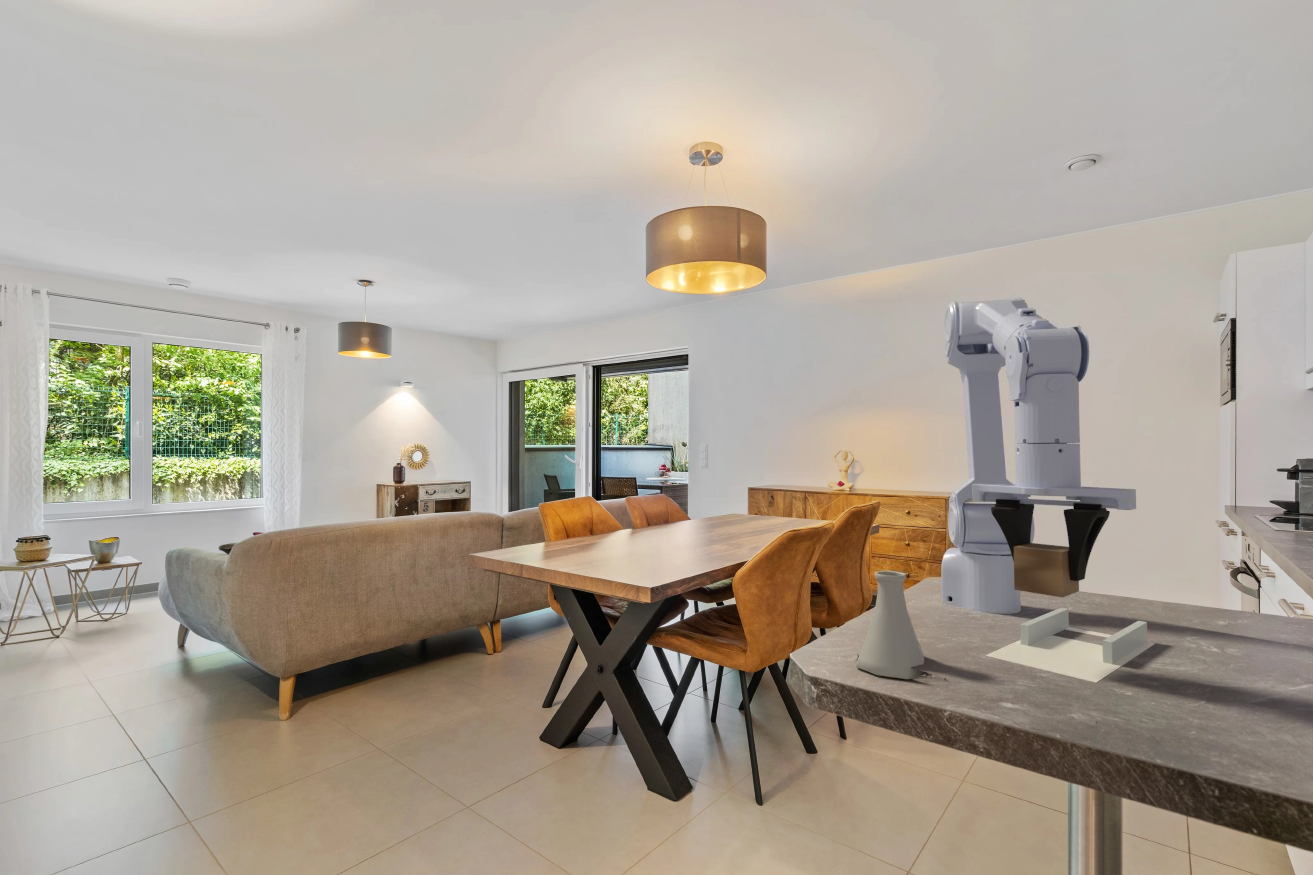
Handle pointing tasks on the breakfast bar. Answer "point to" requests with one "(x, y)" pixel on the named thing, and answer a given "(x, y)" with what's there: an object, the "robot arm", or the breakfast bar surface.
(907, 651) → the flask
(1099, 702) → the breakfast bar surface
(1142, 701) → the breakfast bar surface
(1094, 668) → the trap channel
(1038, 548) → the walnut block
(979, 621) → the breakfast bar surface
